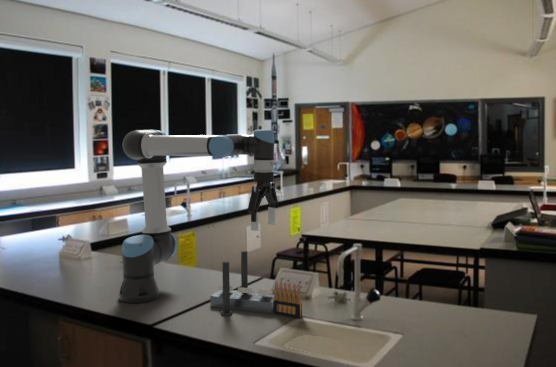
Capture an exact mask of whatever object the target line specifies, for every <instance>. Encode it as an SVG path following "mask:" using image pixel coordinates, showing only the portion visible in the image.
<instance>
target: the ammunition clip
mask: <svg viewBox="0 0 556 367" xmlns="http://www.w3.org/2000/svg"><path fill="white" fill-rule="evenodd" d="M273 292H274V293H273V294H274V301H273V313H272V315H277V316H283V317H286V318H287V317H288V318H293V319H298V320H300V319H301V318H303V304H302V294H301V293H302V292H301V286H300V283H298V285H297V286H296V284H295V283H293V285H292V284H291V282H289V283H288V285H287V282H284V283H282V281H279V284H278V280H276V281H275V283H274V291H273Z"/></svg>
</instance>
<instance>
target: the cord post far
mask: <svg viewBox="0 0 556 367" xmlns="http://www.w3.org/2000/svg"><path fill="white" fill-rule="evenodd" d="M248 265H249V264H248V251H247V250H241V251H240V273H241V274H240V275H241V276H240V277H241V278H240V279H241V280H240V281H241V283H240V284H241V286H240V287H243V288H249V286H248V285H249V284H248V283H249V282H248V279H249V277H248V272H249V271H248V269H249V268H248Z"/></svg>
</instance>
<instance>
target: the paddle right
mask: <svg viewBox="0 0 556 367" xmlns="http://www.w3.org/2000/svg"><path fill="white" fill-rule="evenodd" d="M257 293H258V294H260V295H271V296H272V294H273V290H270V289H262V288H258V292H257Z"/></svg>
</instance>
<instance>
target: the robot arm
mask: <svg viewBox="0 0 556 367" xmlns="http://www.w3.org/2000/svg"><path fill="white" fill-rule="evenodd" d="M122 151H123V152H124V154H125V155H126V156H127V157H128V158H130V159H131V160H134V161H136V164H137V165H138V166H139V167H140V168H141V179H142V180H141V181H142V182H141V183H142V192H143V194H142V195H143V209H144V223H145V225H144V226H145V227H144V228H143V229H142V230H141V234H138V235H137V234H136V235H133V236H130V237H127V238H125V239H124V240H123V242H122V247H121V254H122V255H121V256H122V274H123V276H122V282H121V286H120V289H119V292H118V298H119V301H121V302H124V303H127V304H128V303H129V304H141V303H149V302H151V301H154V300H157V299H158V298H159V296H160V289H159V286H158V284H157V281H156V278H155V266H157V265H158V264H160V263H164V262H166V261H169V259H171V258H172V257H173V256H174V255H175V254H176V252H177V249H178V241H177V239H176V236H174V234H173V233H172V228H171V227H170V226H168V221H167V206H166V191H165V176H164V175H165V174H164V166H165V165H166V164H167V156H168V157H170V156H171V157H179V156H180V157H217V158H225V157H230V156H238V155H240V156H241V155H244V156H247V155H248V156H249V155H250V156H253V171H254V172H253V182H255V183H256V185H252V186H251V194H250V198H249V202H248V206H247V213H248V214H249V213H250V231H254V232H255V231H257V232H258V231H259V217H260V215H259V213H260V212H258V211H259V208H260V206H261V203H262V202H263V201H262V200H263V199H264V198H265V199H266V201H267V204H268V207H267V209H268V210H267V214H268V215H267V225H276V209H277V208H279V201H278V196H277V191H276V183H275V182H274V181H275V179H274V178H275V173H274V171H275V132H274V131H273V130H272V129H255V130H254V131H253V134H235V133H233V134H217V135H215V134H212V135H210V134H209V135H208V134H207V135H205V134H204V135H203V134H200V135H199V134H198V135H192V134H191V135H189V134H188V135H187V134H186V135H181V134H180V135H171V134H170V135H167V134H166V133H165V132H163V131H162V130H157V129H152V128H151V129H135V130H132V131H130V132H128V133H127V134H126V135H125V136H124V138H123V141H122Z"/></svg>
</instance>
